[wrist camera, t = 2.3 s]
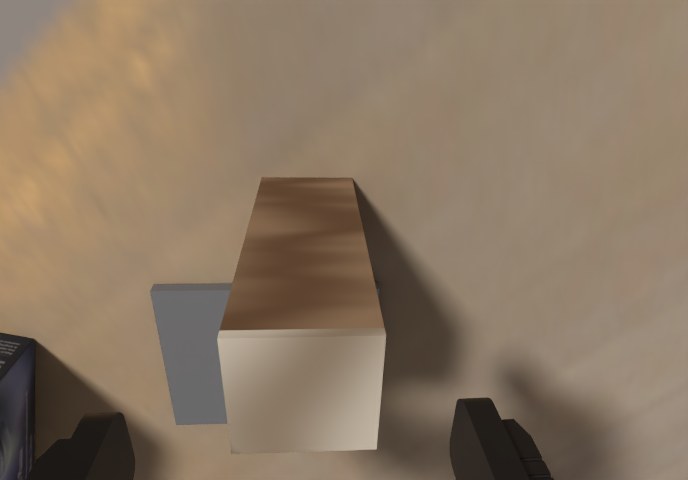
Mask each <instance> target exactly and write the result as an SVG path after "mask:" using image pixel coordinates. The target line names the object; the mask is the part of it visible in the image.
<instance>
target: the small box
mask: <svg viewBox="0 0 688 480" xmlns="http://www.w3.org/2000/svg"><path fill="white" fill-rule="evenodd" d="M34 412H35V340H34V339H30V338H27V337H20V336H14V335H9V334H3V333H0V480H26V478H27V477H28V475H29V473H30V471H31V470H32V468H33V466H34V431H35V430H34V419H35V416H34Z"/></svg>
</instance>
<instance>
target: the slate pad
mask: <svg viewBox="0 0 688 480" xmlns="http://www.w3.org/2000/svg"><path fill="white" fill-rule="evenodd" d="M375 286H376V290H377V295H378V300H379V291H380V288H379V284H378V282H375ZM231 287H232V284H154V285H153V287H152V289H151V291H150V293H151V298H152V303H153V308H154V313H155V318H156V324H157V329H158V334H159V339H160V344H161V349H162V354H163V360H164V365H165V370H166V375H167V380H168V385H169V390H170V396H171V401H172V406H173V411H174V416H175V421H176V425H192V424H226V423H227V414H226V406H225V398H224V390H223V382H222V374H221V366H220V358H219V350H218V342H217V337H218V334H219V330H220V326H221V323H222V319H223V316H224V312H225V308H226V305H227V301H228V298H229V294H230V290H231Z"/></svg>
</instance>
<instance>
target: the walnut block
mask: <svg viewBox="0 0 688 480" xmlns="http://www.w3.org/2000/svg"><path fill="white" fill-rule="evenodd" d="M217 342H218V350H219V358H220V366H221V374H222V382H223V390H224V398H225V406H226V414H227V423H228V431H229V439H230V447H231V454H252V453H283V452H313V451H343V450H373V449H377V439H378V427H379V415H380V404H381V392H382V380H383V368H384V357H385V345H386V332H385V327H384V323H383V318H382V314H381V309H380V304H379V300H378V295H377V290H376V286H375V281H374V277H373V272H372V267H371V263H370V258H369V254H368V249H367V244H366V240H365V235H364V231H363V226H362V221H361V217H360V212H359V208H358V203H357V198H356V194H355V189H354V184H353V180H352V178H262V179H261V182H260V186H259V190H258V193H257V197H256V200H255V204H254V208H253V211H252V215H251V218H250V222H249V226H248V229H247V233H246V236H245V240H244V244H243V247H242V251H241V254H240V258H239V262H238V265H237V269H236V272H235V276H234V280H233V283H232V287H231V290H230V294H229V298H228V301H227V305H226V308H225V312H224V316H223V319H222V323H221V326H220V330H219V334H218V337H217Z"/></svg>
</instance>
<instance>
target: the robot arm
mask: <svg viewBox="0 0 688 480" xmlns="http://www.w3.org/2000/svg"><path fill="white" fill-rule="evenodd" d="M450 457H451V463H452V467H453V471H454V474H455V477H456V480H554V479H553V478H551V476H550V472H549V470H548V468H547V466H546V464H545V462H544V461H542V456H541V455H540V453H539V451H538V449H537V447H536V445H535V443H534V441H533V439H532V437H531V436H530V435H529V434H528V433H527V432H526V431H525V430H524V429H523V428H522V427H521V426H520V425H519V424H518V423H517V422H516V421H515V420H514V419H507V420H501V418H500V416H499V414H498V412H497V410H496V407H495V405H494V403H493V402H492V400H491V399H490V398H467V399H458V401H457V404H456V409H455V415H454V420H453V426H452V432H451V437H450ZM134 471H135V457H134V452H133V448H132V445H131V441H130V437H129V433H128V429H127V426H126V422H125V418H124V416H123V414H122V413H120V412H118V413H94V414H86V415H85V416H83V418H82V419H81V421H80V422H79V424H78V426H77V428H76V430H75V432H74V434H73V436H72V438H71V439H58V440H57V441H56V442H55V443H54V444H53V445H52V446H51V447H50V448H49V449H48V450H47V451H46V452H45V453H44V454H43V455H42V456H41V457H40V458H39V459H38V460H37V461H36V463H35V465H34V466H33V468H32V470H31V471H30V473H29V475H28V477H27V478H26V480H133V477H134Z"/></svg>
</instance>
